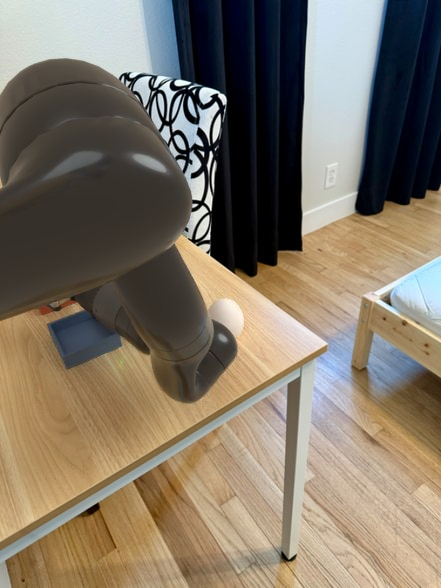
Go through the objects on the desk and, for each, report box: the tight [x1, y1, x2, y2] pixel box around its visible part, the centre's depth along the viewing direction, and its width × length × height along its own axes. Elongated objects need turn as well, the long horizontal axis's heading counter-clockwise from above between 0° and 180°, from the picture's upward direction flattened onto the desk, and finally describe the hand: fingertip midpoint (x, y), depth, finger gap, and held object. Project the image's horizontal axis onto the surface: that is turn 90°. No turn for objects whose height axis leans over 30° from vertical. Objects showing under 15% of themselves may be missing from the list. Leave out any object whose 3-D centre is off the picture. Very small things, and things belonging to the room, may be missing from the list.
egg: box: [207, 297, 245, 340], centre depth 67 cm, size 6×6×8 cm
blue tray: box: [46, 309, 123, 370], centre depth 68 cm, size 9×9×3 cm
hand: (60, 258), depth 70 cm, fingers open, 8 cm apart
